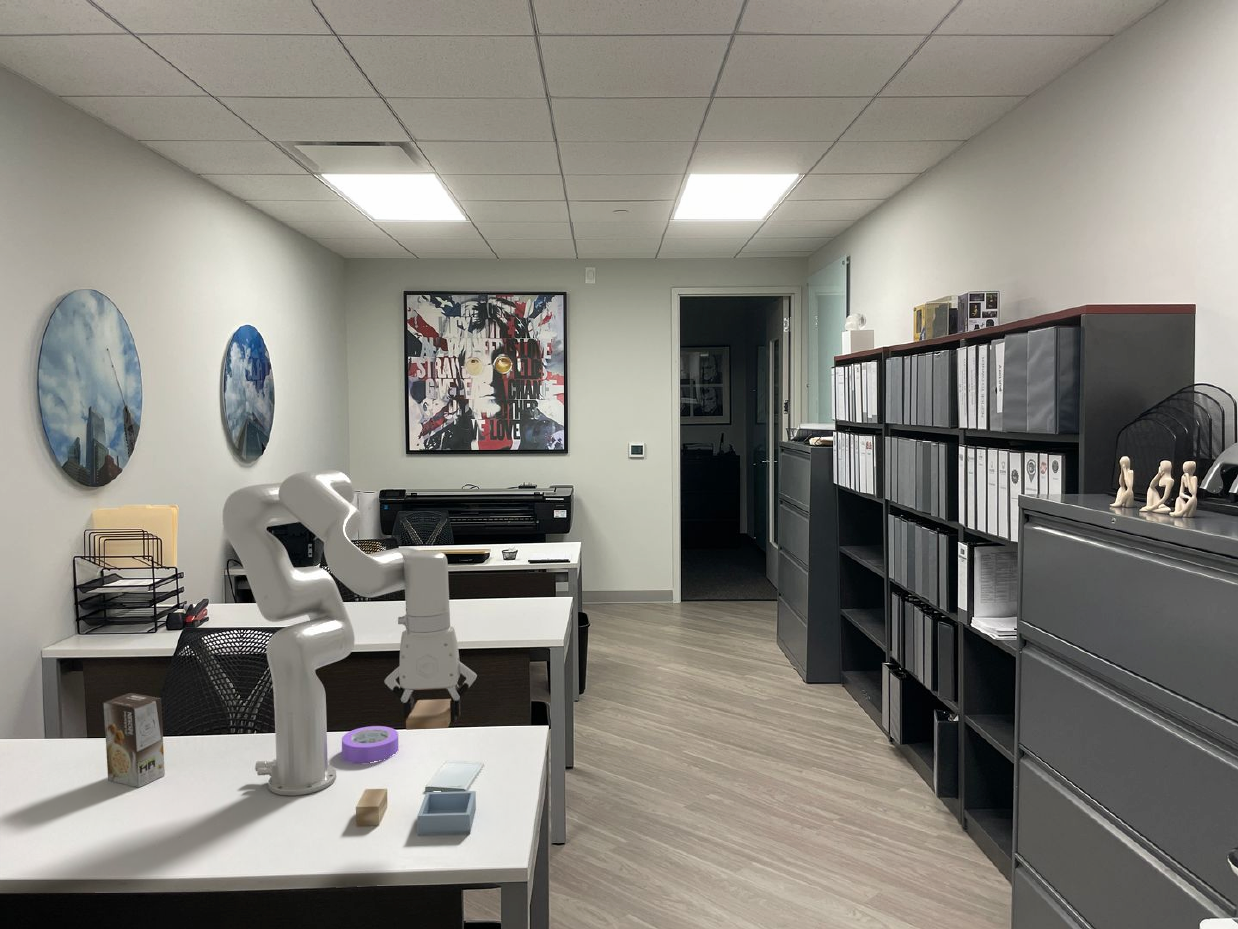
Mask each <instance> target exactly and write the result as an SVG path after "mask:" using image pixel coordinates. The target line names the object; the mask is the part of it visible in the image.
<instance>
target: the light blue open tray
mask: <svg viewBox="0 0 1238 929" xmlns="http://www.w3.org/2000/svg"><path fill="white" fill-rule="evenodd" d="M424 794H425V795H424V797H423V800H422V803H421V806H420V808H419V809H418V813H417V817H416V818H417V836H418V835H419V836H444V835H445V836H449V835H452V836H453V835H471V831H472V828H473V823H474V818H475V814H476V810H477V809H476V808H477V803H476V802H477V801H476V799H477V796H476V794H477V792H476V790H470V791H469V790H468V791H461V792H425V793H424Z"/></svg>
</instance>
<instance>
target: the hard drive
mask: <svg viewBox="0 0 1238 929" xmlns="http://www.w3.org/2000/svg"><path fill="white" fill-rule="evenodd" d="M483 767H484V768H485V763H484V762H482V761H468V760H467V761H466V760H450V759H449V760H446V761H445V762H444V763H443V765H442V766H440V768H439V769H438V770H437V772H436V773H435V774H434V776H433V777H432V778H431V780H430V781H428V783H427V785H426V786H425V787H424V792H425V791H441V792H461V791H469V790H470V789H471V787H472V786H473V784H474V783H475V781H476V780H477V778H478V777H479V775H480V774H481V772H482V771H483V769H484V768H483ZM482 768H483V769H482ZM481 770H482V771H481ZM479 773H480V774H479ZM477 776H478V777H477ZM475 779H476V780H475ZM471 785H472V786H471Z"/></svg>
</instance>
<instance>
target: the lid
mask: <svg viewBox="0 0 1238 929" xmlns="http://www.w3.org/2000/svg"><path fill="white" fill-rule="evenodd" d="M451 699H452V698H441V699H440V698H438V699H419V700H417V701H416V703H414V709H413V711H412V712H411V713H410V715H409V716H408V718H407V719H405V727H406V729H405V730H407V731H408V730H409V731H413V730H434V729H448V728H449V726H450V723H451V711H450V701H451Z"/></svg>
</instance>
